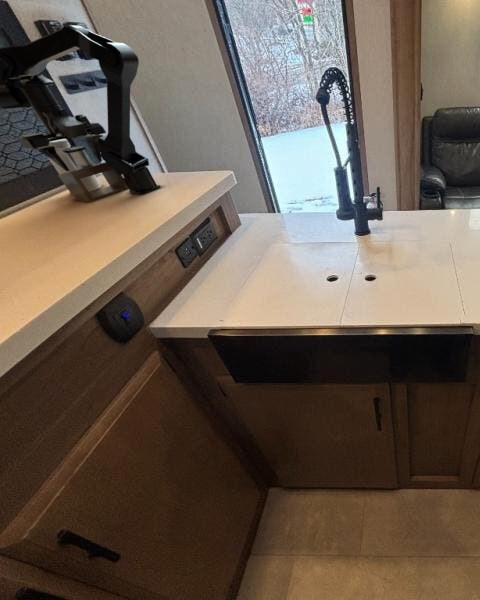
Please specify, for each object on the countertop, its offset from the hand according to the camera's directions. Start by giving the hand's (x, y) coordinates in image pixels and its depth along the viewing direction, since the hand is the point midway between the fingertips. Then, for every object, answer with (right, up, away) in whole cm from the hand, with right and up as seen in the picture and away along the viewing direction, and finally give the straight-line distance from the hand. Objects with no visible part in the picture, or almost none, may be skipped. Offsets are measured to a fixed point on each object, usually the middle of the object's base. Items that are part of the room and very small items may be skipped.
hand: (84, 166), depth 97 cm
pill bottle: (-8, -4, +9) cm, 13 cm away
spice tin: (0, -1, +1) cm, 1 cm away
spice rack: (+1, -7, +5) cm, 8 cm away
